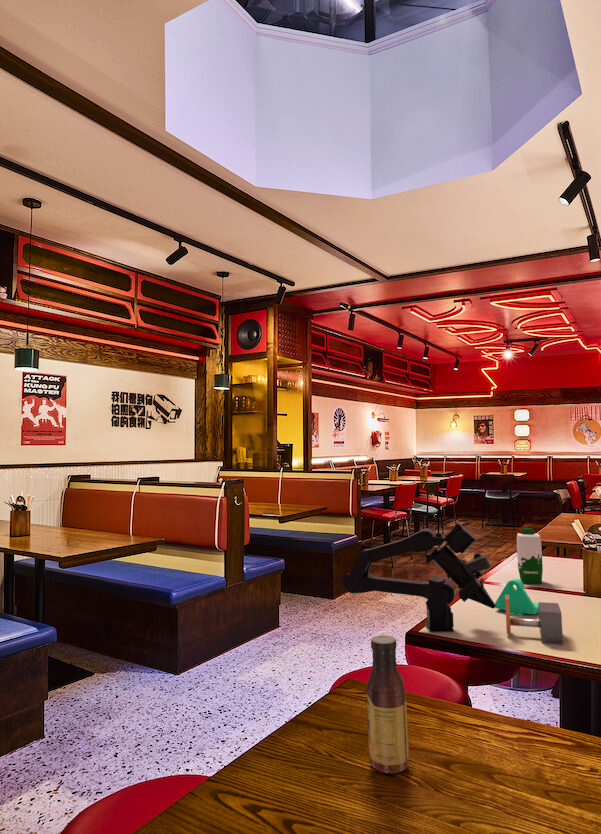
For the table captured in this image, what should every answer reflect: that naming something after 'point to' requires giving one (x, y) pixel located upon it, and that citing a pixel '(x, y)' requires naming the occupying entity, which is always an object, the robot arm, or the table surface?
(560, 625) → the block
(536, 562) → the milk carton
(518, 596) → the camera mount
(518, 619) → the lock pin
